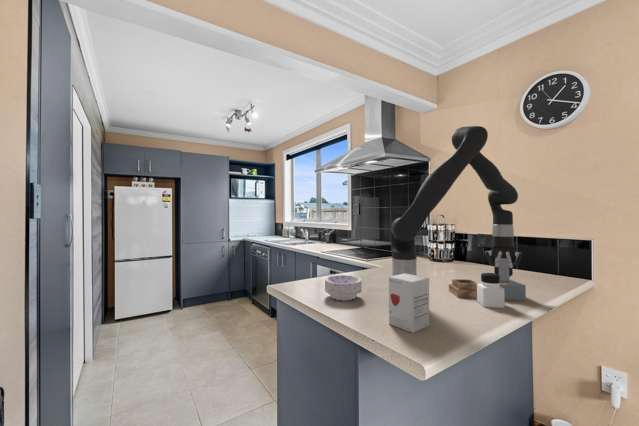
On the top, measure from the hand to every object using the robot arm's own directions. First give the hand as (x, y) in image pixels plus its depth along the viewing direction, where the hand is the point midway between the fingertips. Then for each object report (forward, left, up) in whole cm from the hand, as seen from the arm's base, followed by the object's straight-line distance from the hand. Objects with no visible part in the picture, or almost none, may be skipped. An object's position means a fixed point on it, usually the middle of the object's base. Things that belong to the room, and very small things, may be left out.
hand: (503, 275), depth 117 cm
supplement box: (-46, -36, -9) cm, 59 cm away
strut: (0, 0, -4) cm, 4 cm away
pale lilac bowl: (-67, -9, -9) cm, 68 cm away
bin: (0, 0, -8) cm, 8 cm away
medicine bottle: (-11, -13, -9) cm, 19 cm away
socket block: (-15, +1, -8) cm, 17 cm away
